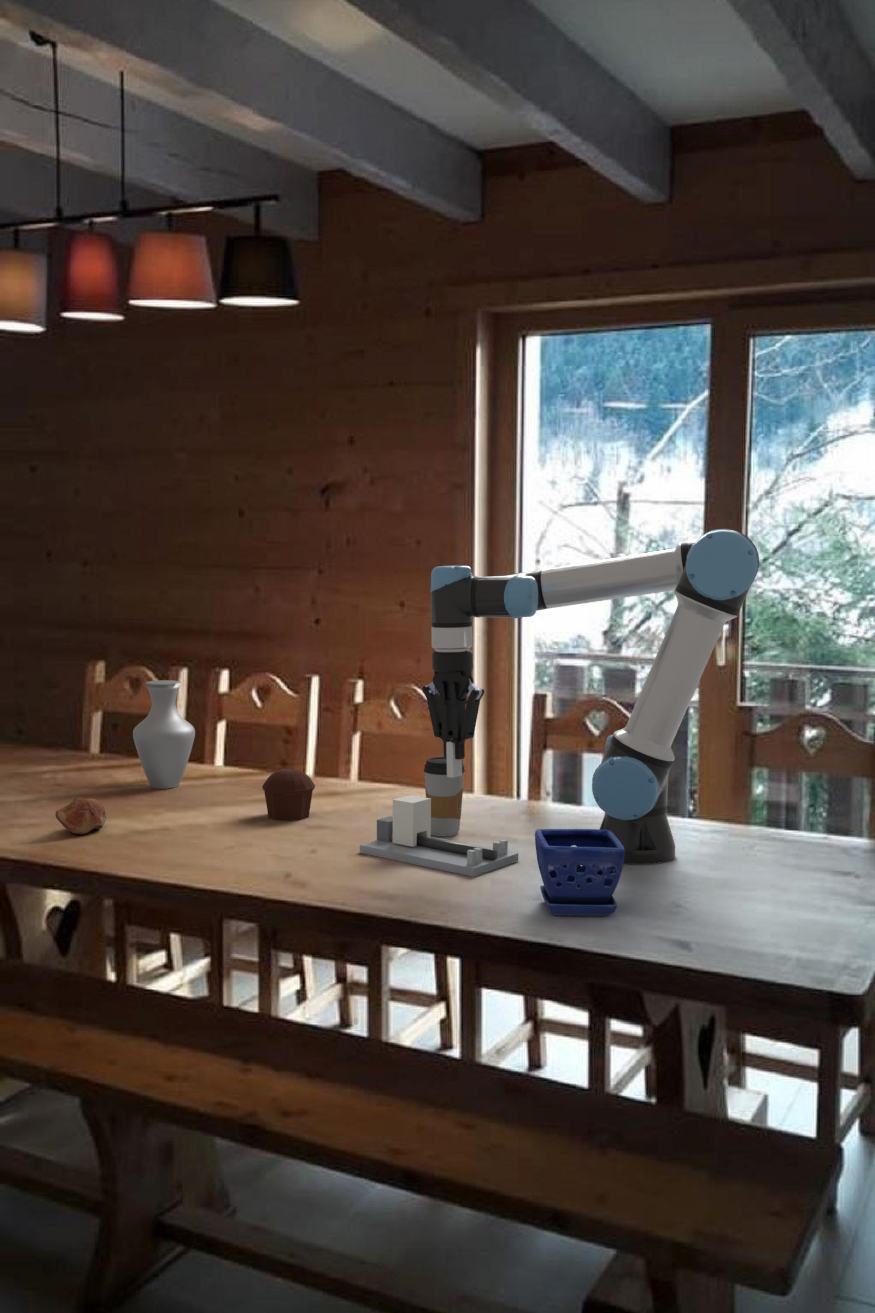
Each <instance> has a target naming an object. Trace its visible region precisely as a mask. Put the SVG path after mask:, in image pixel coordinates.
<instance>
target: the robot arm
mask: <svg viewBox="0 0 875 1313" xmlns="http://www.w3.org/2000/svg"><path fill="white" fill-rule="evenodd" d="M759 567H760V556H759V551H758V549H757V547H756V545H755V544H754V542H753V541H752V540H751V539H750V538H749V537H748V536H747V535H746V534H744V533H742V532H740V531H737V530H732V529H730V528H717V529H712V530H710V531H707V532H705V533H704V534H702V535H701V536H699V538H696V539H692V540H688V541H687V540H686V541H682V542H679V543H678V544H677V545H676V546H675V547H674V548H672V549H665V550H664V549H663V550H659V551H652V552H646V553H640V554H632V555H626V556H621V557H614V558H608V559H602V560H596V561H595V560H594V561H590V562H583V563H578V564H577V563H576V564H570V565H563V566H557V567H553V568H546V569H540V570H533V571H527V572H526V571H525V572H523V571H522V572H517V573H512V574H508V575H493V576H489V575H488V576H479V575H473V572H472V568H471V567H470V566H469V565H440V566H439V565H438V566H435V567H434V568H432V570H431V577H430V578H431V579H430V590H429V593H430V609H431V611H430V613H431V614H430V615H431V648H433V649H434V651H432V652H431V665H432V666H431V667H432V671H433V672H434V673H433V677H432V682H430V683H429V684H427V685H423V686H422V692H423V694H424V696H425V698H426V702H427V708H428V711H429V715H430V716H429V717H430V721H431V727H432V731H433V735H434V737H436V738H439V739H441V740H442V741H443V757H444V758H447V777H452V778H454V777H458V776H462V762H463V759H465V757H466V756H465V748H466V747H465V742H466V741H467V740H469V739H470V740H471V739H473V738H474V737H475V732H476V731H475V730H476V727H477V726H476V725H477V720H478V716H479V711H480V710H479V708H480V703H481V700H482V698H483V696H484V694H485V689H484V688H483V687H480V688H479V687H478V686H477V685H476V684H475V683H474V678H473V676H472V671H473V669H474V658H473V657H474V655H473V654H474V653H473V651H472V650H471V649H470V648H472V647H473V618H514V619H521V618H531V617H534V616H535V614H536V613H537V611H542V610H543V611H545V610H547V609H549V610H550V609H556V608H562V607H568V606H576V605H581V604H582V605H583V604H589V603H598V602H603V601H610V600H617V599H623V598H630V597H637V596H638V597H639V596H644V595H650V594H657V593H666V592H671V591H673V592H674V595H675V597H676V599H677V602H678V604H677V606H676V609H675V611H674V614H673V615H672V616H673V617H672V618H671V621H670V623H669V626H668V628H667V630H666V632H665V635H664V637H663V639H662V641H661V644H660V646H659V648H658V651H657V653H656V656H655V658H654V660H653V663H652V665H651V668H650V670H649V672H648V674H647V677H646V679H645V681H644V683H643V686H642V688H641V691H640V693H639V696H638V698H637V700H636V703H635V705H634V707H633V709H632V712H631V714H630V716H629V718H628V721H627V724H626V725H625V727H623V728H621V729H618V730H615V731H614V732H613V734H610V735H608V736H607V737H606V742H605V747H604V750H605V752H604V756H603V757H602V760H601V762H600V763H599V765H598V767H597V768H595V770H594V773H593V775H592V780H591V782H592V783H591V791H592V795H593V796H592V797H593V799H594V801H595V803H596V805H597V806H598V807H599V808H600V810H601V811H603V812H604V814H603V818H602V821H601V824H600V827H599V828H598V829H599V830H610V831H612V832H613V834H614V835H615V836H616V837H617V839H618V840H619V841H620V842H621V844H622V845H623V847H624V849H625V854H624V862H623V864H631V865H654V864H662V863H667V862H670V861H672V860H674V859H675V857H676V843H675V840H674V836H673V833H672V830H671V827H670V822H669V819H668V815H667V813H668V778H669V777H668V775H669V772H670V770H671V769H672V766H673V764H674V760H675V758H676V757H675V755H674V752H673V749H672V744H673V742H674V740H675V737H676V735H677V733H678V730H679V728H680V726H681V723H682V721H683V720H684V717H685V714H686V712H687V710H688V707H689V705H690V703H691V701H692V698H693V697H694V694H695V693H696V689H697V687H698V685H699V683H700V680H701V678H702V676H703V673H704V672H705V669H706V666H707V664H708V662H709V659H710V657H711V655H712V652H713V651H714V648H715V646H716V643H717V642H718V639H719V637H720V635H721V632H722V630H723V627H724V626H725V624H726V622H728V621H731V620H733V619H736V618H738V616H739V613H740V611H741V608H742V607H743V604H744V602H745V600H746V598H747V595H748V593H749V591H750V588H751V586H752V585H753V583H754V582H755V579H756V576H757V574H758V572H759V569H760V568H759ZM467 696H468V697H467Z"/></svg>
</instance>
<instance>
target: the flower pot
mask: <svg viewBox="0 0 875 1313" xmlns="http://www.w3.org/2000/svg"><path fill="white" fill-rule="evenodd" d="M599 829H600V828H597V829H595V828H539V829H536V830H535V831H534V843H535V854H536V860H537V866H538V869H539V873H540V876H541V880H542V883H543V885H540V886H539V889H540V892H541V895H542V898H543V902H544V903H545V905H546V907H547V909H548V911H549V912H550V913H551V914H552V915H553V916H575V917H576V916H578V917H579V916H581V917H582V916H583V917H590V916H591V917H593V916H594V917H607V916H611V915H612V914H613V913H615V911H616V910H617V908H618V903H617V901H616V899H615V898H614V893H615V892H616V889H617V887H618V885H619V882H620V879H621V875H622V870H623V866H624V863H623V862H624V854H625V849H624V847H623V845H622V844H621V842H620V841H619V840H618V839H617V837H616V836H615V835H614V834H613V832H612V831H610V830H599Z"/></svg>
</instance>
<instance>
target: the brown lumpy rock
mask: <svg viewBox="0 0 875 1313" xmlns="http://www.w3.org/2000/svg"><path fill="white" fill-rule="evenodd" d="M104 807H105V806H103V805H102V803H101V802H100V801H99V800H97V799H96V798H93V797H92V798H84V797H80V796H77V797H75V798H74V800H72V801H71V802H70V803H69V804H67V805H65V806H63V807H61V808H59V809H58V810H56V811H55V813H54V814H55V818H56V819H57V820H58V822H59V823H60V824H61V826H62V827H63V828H64V829H66V830H67V831H69V832H71V833H73V834H75V835H86V834H88V833H90V832H91V831H93V830H100V829H103V827H104V825H105V823H106V821H107V814H106V811H105V808H104Z"/></svg>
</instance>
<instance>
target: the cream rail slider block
mask: <svg viewBox="0 0 875 1313" xmlns="http://www.w3.org/2000/svg"><path fill="white" fill-rule="evenodd" d="M392 817H393V843H396V844H401V845H406V846H411V847H414V846H417V835H418V836H423V837H428V838H431V837H432V834H431V798H426V796H425V797H424V796H418V795H412V794H410V795H406V796H405V795H404V796H401V797H397V798H394V799H392Z"/></svg>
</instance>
